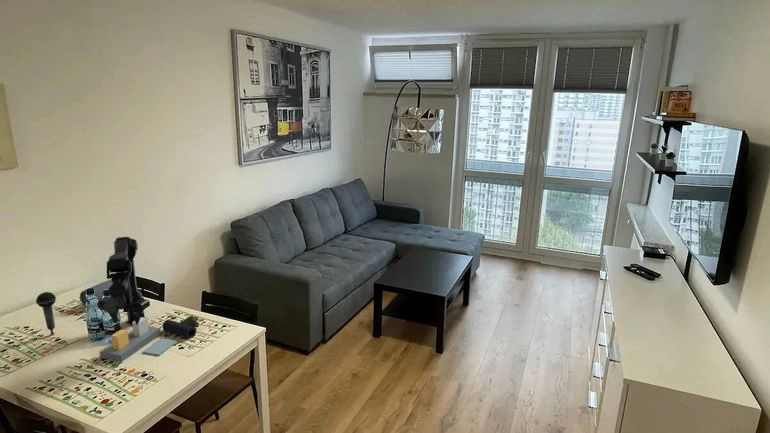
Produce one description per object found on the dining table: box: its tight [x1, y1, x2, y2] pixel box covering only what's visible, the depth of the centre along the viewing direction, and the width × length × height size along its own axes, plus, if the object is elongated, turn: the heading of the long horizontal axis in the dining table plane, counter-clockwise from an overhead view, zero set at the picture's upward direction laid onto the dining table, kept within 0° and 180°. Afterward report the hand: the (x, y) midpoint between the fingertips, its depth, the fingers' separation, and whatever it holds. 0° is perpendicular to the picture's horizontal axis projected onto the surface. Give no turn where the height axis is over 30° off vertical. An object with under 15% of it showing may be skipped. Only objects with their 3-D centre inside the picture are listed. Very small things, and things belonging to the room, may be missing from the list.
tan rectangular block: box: [110, 329, 129, 350], centre depth 178 cm, size 3×5×9 cm, turn 167°
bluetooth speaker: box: [79, 278, 112, 307], centre depth 224 cm, size 23×9×10 cm, turn 159°
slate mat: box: [142, 337, 178, 357], centre depth 184 cm, size 8×11×1 cm
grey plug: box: [132, 317, 149, 337], centre depth 189 cm, size 3×5×9 cm, turn 167°
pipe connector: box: [161, 314, 200, 340], centre depth 198 cm, size 12×5×15 cm
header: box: [99, 325, 162, 363], centre depth 184 cm, size 10×22×3 cm, turn 167°
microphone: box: [35, 291, 57, 336], centre depth 188 cm, size 7×7×20 cm
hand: (126, 323), depth 178 cm, fingers open, 9 cm apart
